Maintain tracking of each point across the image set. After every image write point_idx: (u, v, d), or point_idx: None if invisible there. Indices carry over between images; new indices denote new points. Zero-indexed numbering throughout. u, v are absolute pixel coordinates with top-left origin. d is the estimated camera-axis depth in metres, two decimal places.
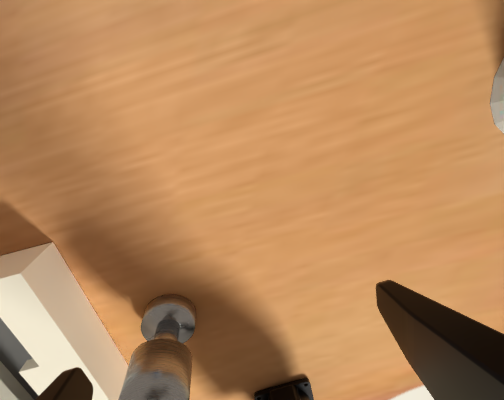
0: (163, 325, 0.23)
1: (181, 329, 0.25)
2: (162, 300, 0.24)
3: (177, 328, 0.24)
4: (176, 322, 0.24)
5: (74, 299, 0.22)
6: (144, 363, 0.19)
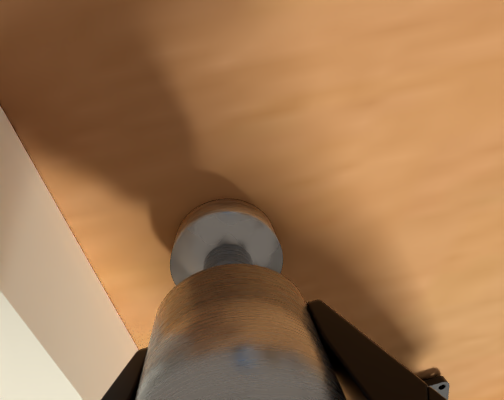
0: (223, 254, 0.10)
1: None
2: (215, 206, 0.11)
3: (252, 263, 0.11)
4: (246, 253, 0.11)
5: (17, 184, 0.09)
6: (210, 322, 0.06)
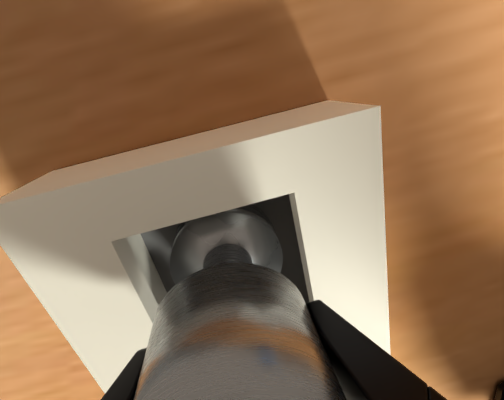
0: (222, 253, 0.10)
1: None
2: None
3: (251, 263, 0.11)
4: (246, 252, 0.11)
5: None
6: (209, 322, 0.06)
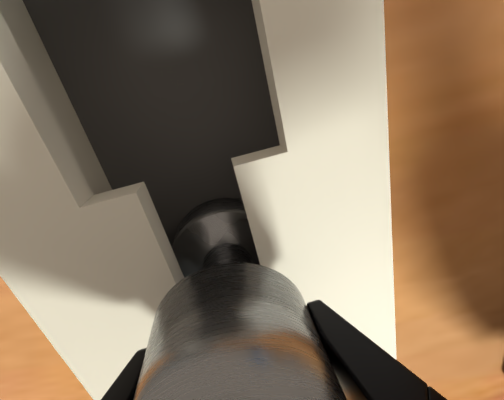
0: (222, 253, 0.10)
1: None
2: (214, 205, 0.11)
3: (251, 263, 0.11)
4: (246, 252, 0.11)
5: None
6: (209, 322, 0.06)
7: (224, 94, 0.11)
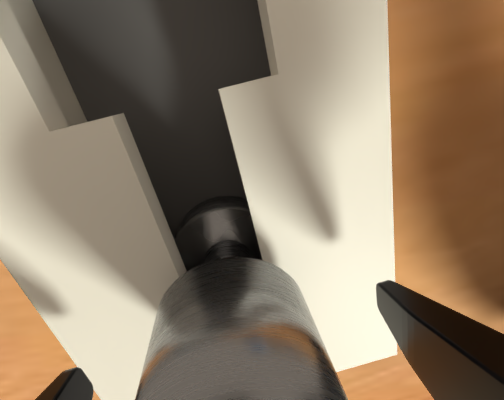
0: (223, 249, 0.11)
1: None
2: (215, 203, 0.11)
3: None
4: (246, 248, 0.11)
5: None
6: (210, 311, 0.06)
7: (214, 33, 0.10)
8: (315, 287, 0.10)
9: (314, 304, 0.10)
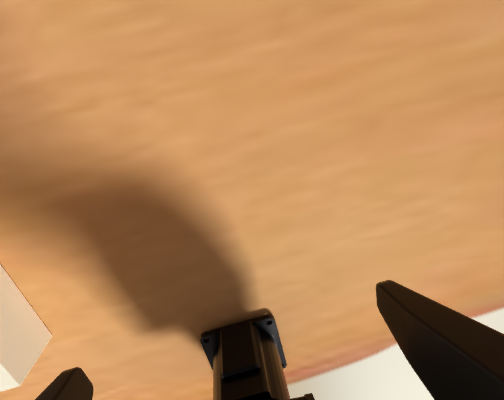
0: None
1: None
2: None
3: None
4: None
5: None
6: None
7: None
8: None
9: None
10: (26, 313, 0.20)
